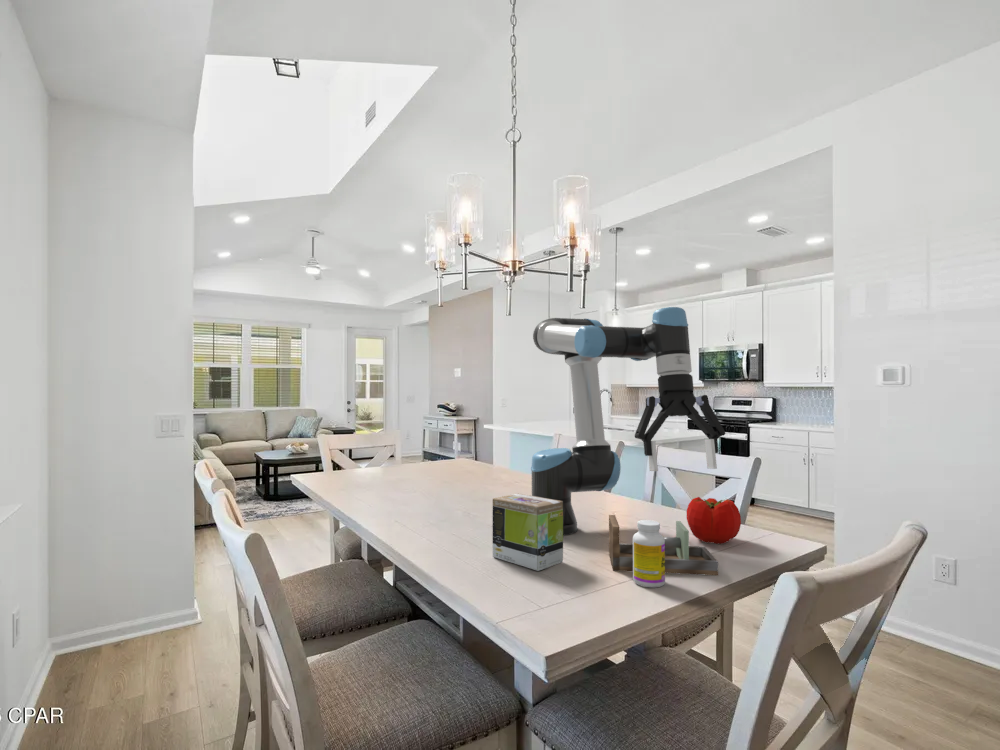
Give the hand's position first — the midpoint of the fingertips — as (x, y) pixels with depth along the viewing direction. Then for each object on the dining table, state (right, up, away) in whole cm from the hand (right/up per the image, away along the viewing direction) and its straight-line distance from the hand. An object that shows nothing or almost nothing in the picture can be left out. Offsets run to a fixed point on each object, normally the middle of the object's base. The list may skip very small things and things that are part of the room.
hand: (683, 470), depth 115 cm
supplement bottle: (-9, -24, -4) cm, 26 cm away
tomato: (+17, -25, +27) cm, 40 cm away
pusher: (0, -22, +7) cm, 24 cm away
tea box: (-34, -24, +11) cm, 43 cm away
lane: (-3, -24, +8) cm, 25 cm away
